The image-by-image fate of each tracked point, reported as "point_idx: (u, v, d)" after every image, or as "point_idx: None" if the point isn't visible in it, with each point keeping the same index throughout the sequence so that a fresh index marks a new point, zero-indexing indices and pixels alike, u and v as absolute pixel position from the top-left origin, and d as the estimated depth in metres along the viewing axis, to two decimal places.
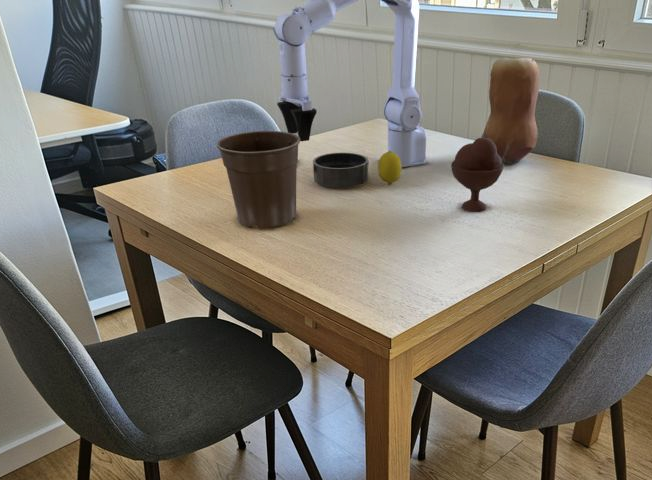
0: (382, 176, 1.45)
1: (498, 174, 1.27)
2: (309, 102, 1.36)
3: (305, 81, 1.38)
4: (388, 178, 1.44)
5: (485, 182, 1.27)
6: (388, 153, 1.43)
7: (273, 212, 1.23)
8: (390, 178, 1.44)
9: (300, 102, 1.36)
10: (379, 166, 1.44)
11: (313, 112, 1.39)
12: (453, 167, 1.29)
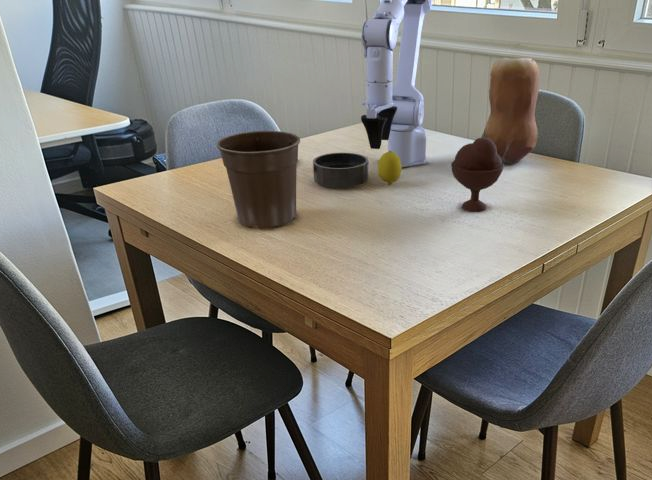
0: (382, 176, 1.45)
1: (498, 174, 1.27)
2: (372, 110, 1.32)
3: (384, 89, 1.34)
4: (388, 178, 1.44)
5: (485, 182, 1.27)
6: (388, 153, 1.43)
7: (273, 212, 1.23)
8: (390, 178, 1.44)
9: (367, 109, 1.33)
10: (379, 166, 1.44)
11: (380, 121, 1.34)
12: (453, 167, 1.29)
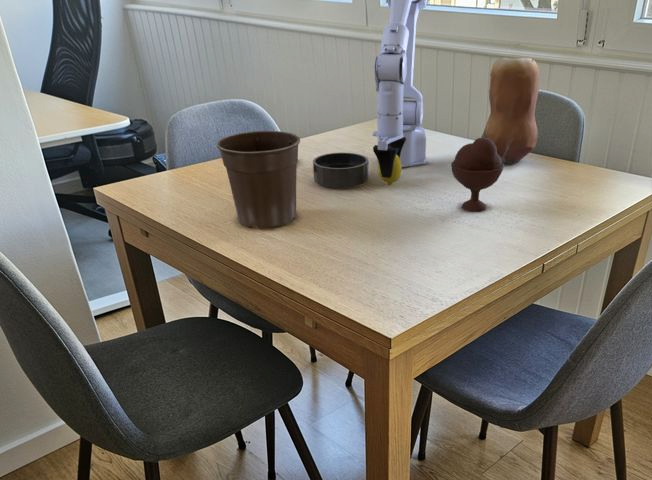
0: None
1: (498, 174, 1.27)
2: (384, 142, 1.35)
3: (395, 121, 1.37)
4: (388, 178, 1.44)
5: (485, 182, 1.27)
6: None
7: (273, 212, 1.23)
8: (390, 178, 1.44)
9: None
10: (379, 166, 1.44)
11: (391, 152, 1.38)
12: (453, 167, 1.29)
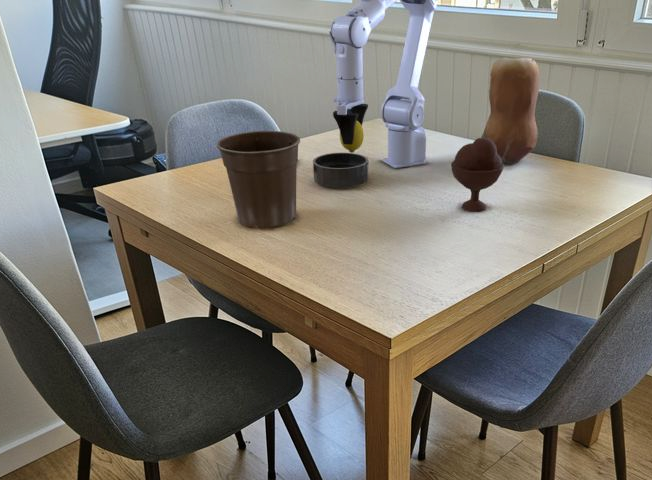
0: None
1: (498, 174, 1.27)
2: (343, 106, 1.33)
3: (355, 85, 1.35)
4: (350, 145, 1.42)
5: (485, 182, 1.27)
6: None
7: (273, 212, 1.23)
8: (351, 145, 1.42)
9: None
10: None
11: (351, 117, 1.36)
12: (453, 167, 1.29)
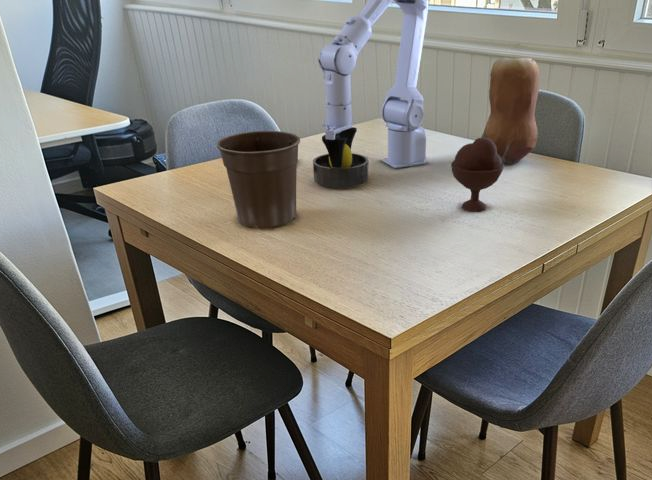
0: None
1: (498, 174, 1.27)
2: (331, 132, 1.37)
3: (343, 111, 1.39)
4: None
5: (485, 182, 1.27)
6: None
7: (273, 212, 1.23)
8: None
9: (326, 130, 1.38)
10: None
11: (340, 141, 1.40)
12: (453, 167, 1.29)
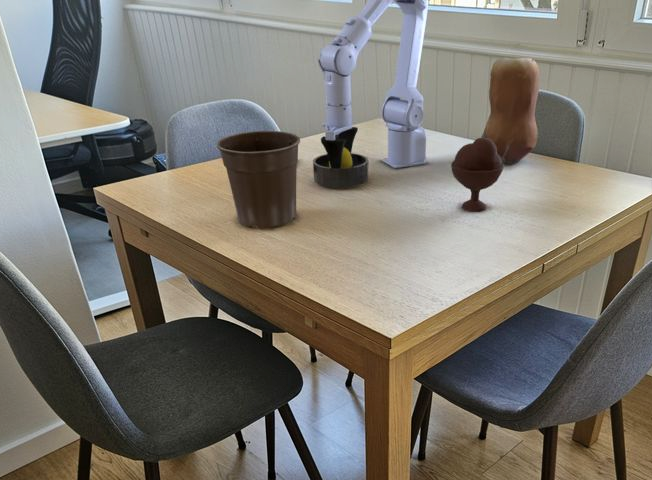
0: None
1: (498, 174, 1.27)
2: (331, 132, 1.37)
3: (343, 111, 1.39)
4: None
5: (485, 182, 1.27)
6: None
7: (273, 212, 1.23)
8: None
9: (326, 131, 1.39)
10: None
11: (339, 143, 1.39)
12: (453, 167, 1.29)
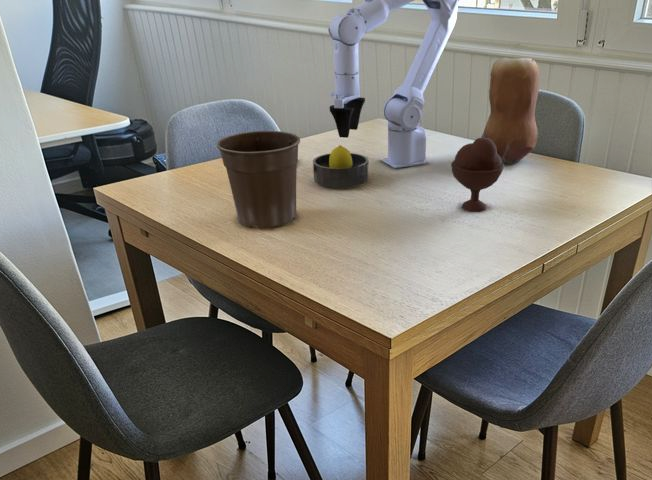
0: None
1: (498, 174, 1.27)
2: (339, 100, 1.41)
3: (351, 80, 1.42)
4: None
5: (485, 182, 1.27)
6: (338, 148, 1.45)
7: (273, 212, 1.23)
8: None
9: None
10: (330, 160, 1.46)
11: (347, 111, 1.43)
12: (453, 167, 1.29)
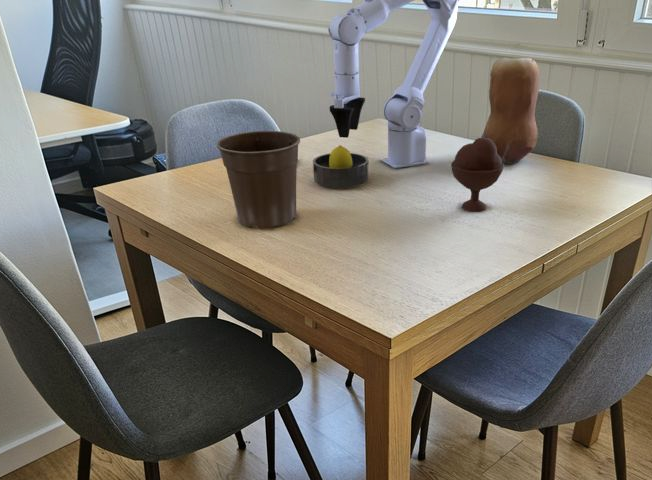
0: None
1: (498, 174, 1.27)
2: (339, 100, 1.41)
3: (351, 80, 1.42)
4: None
5: (485, 182, 1.27)
6: (338, 148, 1.45)
7: (273, 212, 1.23)
8: None
9: None
10: (330, 160, 1.46)
11: (347, 111, 1.43)
12: (453, 167, 1.29)
